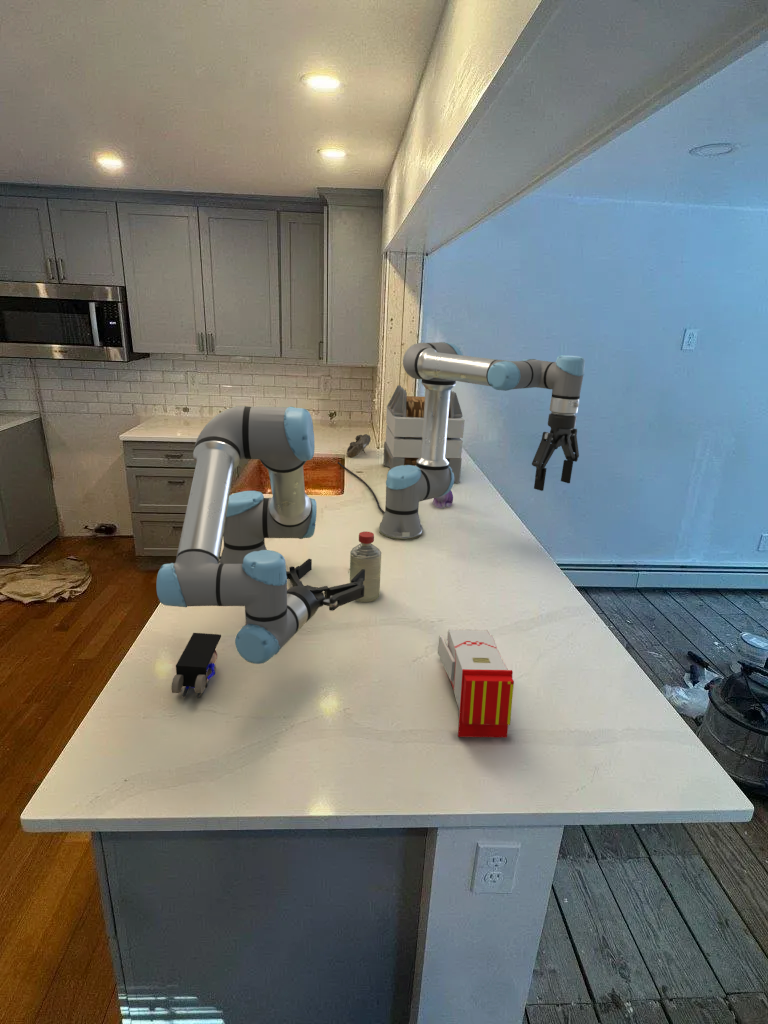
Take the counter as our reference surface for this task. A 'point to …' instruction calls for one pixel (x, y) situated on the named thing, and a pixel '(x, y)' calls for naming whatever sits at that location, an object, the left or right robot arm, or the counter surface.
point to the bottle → (367, 569)
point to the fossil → (358, 445)
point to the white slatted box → (419, 431)
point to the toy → (478, 682)
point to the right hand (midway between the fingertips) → (552, 485)
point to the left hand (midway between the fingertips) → (336, 569)
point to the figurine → (443, 500)
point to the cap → (366, 537)
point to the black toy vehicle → (196, 663)
